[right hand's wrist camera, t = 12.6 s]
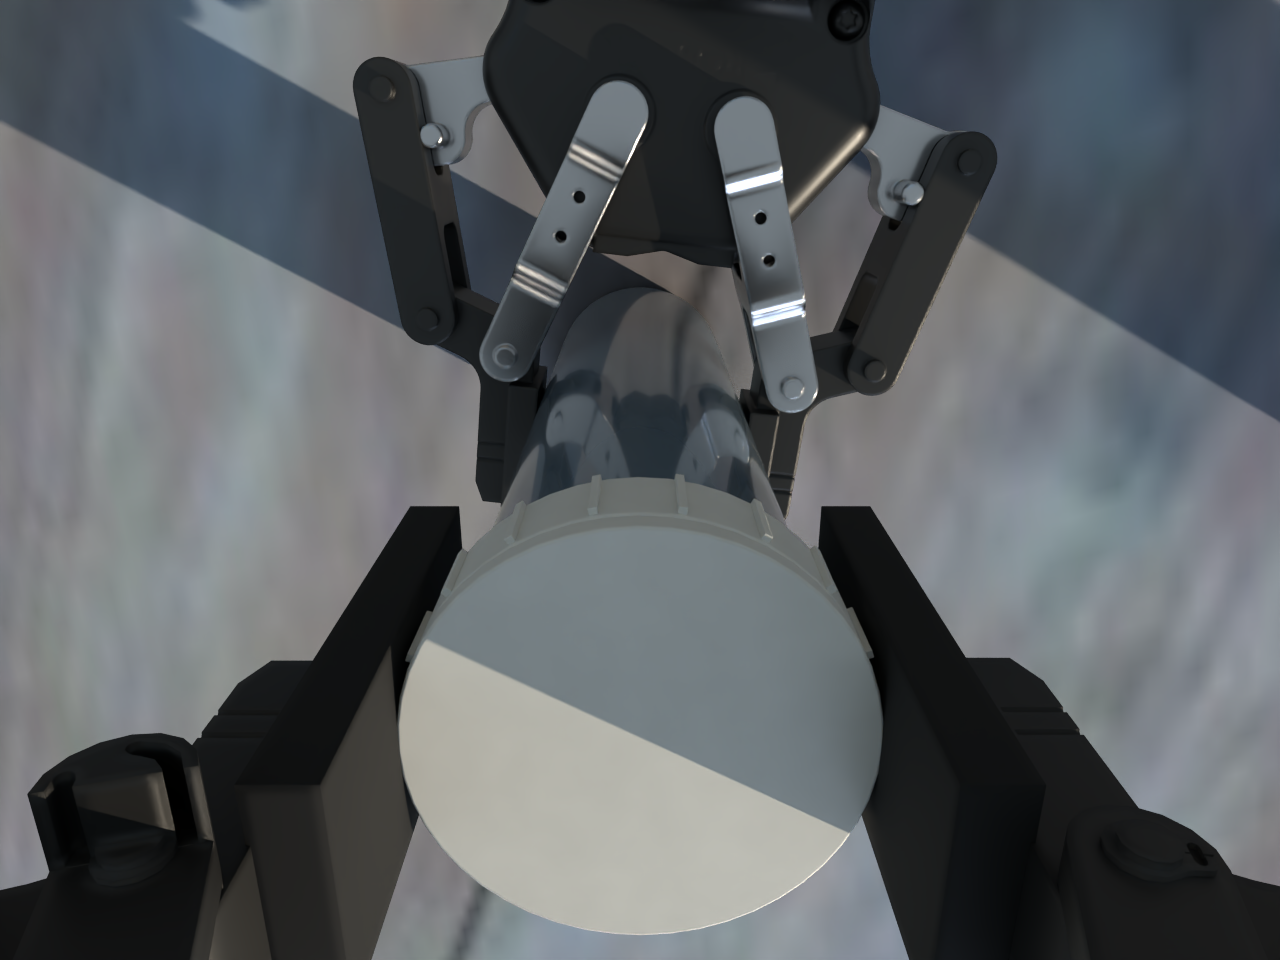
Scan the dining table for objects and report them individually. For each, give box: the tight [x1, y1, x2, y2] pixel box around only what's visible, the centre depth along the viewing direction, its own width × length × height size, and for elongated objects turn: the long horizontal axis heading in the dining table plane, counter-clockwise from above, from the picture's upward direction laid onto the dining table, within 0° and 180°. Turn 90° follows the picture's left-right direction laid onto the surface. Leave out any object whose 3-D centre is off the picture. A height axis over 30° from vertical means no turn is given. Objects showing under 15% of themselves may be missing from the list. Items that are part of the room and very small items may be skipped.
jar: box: [493, 287, 787, 527], centre depth 20 cm, size 5×5×19 cm
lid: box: [397, 474, 884, 935], centre depth 11 cm, size 6×6×2 cm
